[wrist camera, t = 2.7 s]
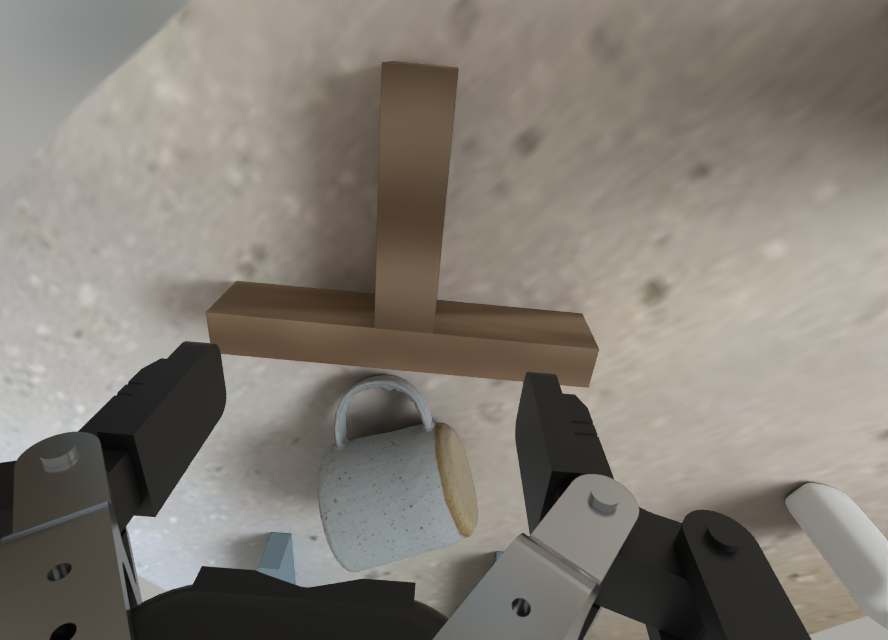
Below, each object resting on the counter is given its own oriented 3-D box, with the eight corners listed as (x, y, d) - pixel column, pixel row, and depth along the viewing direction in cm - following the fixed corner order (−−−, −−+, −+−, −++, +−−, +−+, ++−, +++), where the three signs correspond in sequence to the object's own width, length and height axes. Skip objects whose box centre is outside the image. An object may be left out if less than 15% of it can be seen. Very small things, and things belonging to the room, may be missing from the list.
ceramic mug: (481, 474, 35) (486, 573, 28) (375, 500, 36) (355, 600, 30) (429, 351, 31) (420, 433, 24) (310, 386, 32) (269, 473, 25)
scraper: (209, 42, 23) (164, 39, 19) (638, 86, 23) (671, 92, 20) (241, 317, 30) (211, 352, 26) (573, 348, 30) (588, 387, 26)
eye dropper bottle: (794, 536, 37) (929, 729, 26) (778, 488, 35) (917, 677, 24) (858, 518, 36) (1024, 711, 25) (845, 467, 34) (1021, 655, 23)
